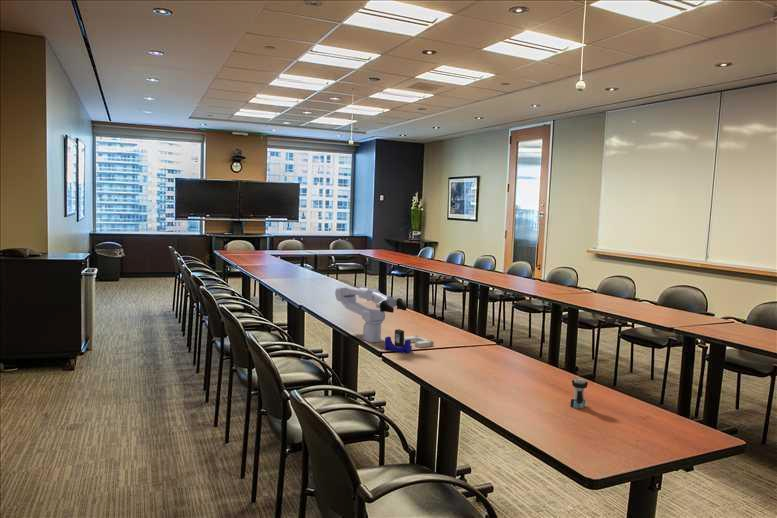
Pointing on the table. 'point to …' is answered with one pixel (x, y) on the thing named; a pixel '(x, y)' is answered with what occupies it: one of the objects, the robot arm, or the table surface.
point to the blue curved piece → (405, 349)
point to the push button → (579, 393)
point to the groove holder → (419, 341)
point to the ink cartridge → (399, 338)
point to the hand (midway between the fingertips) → (399, 309)
